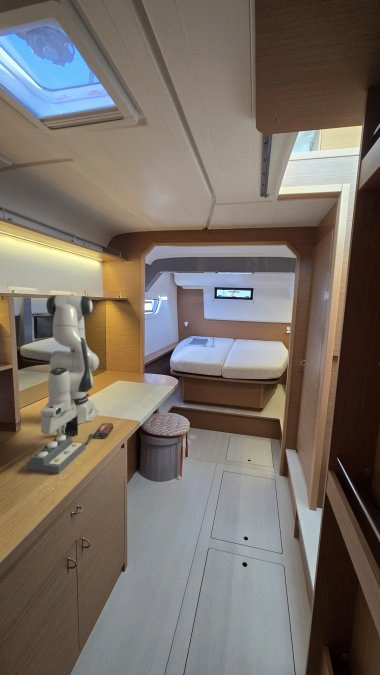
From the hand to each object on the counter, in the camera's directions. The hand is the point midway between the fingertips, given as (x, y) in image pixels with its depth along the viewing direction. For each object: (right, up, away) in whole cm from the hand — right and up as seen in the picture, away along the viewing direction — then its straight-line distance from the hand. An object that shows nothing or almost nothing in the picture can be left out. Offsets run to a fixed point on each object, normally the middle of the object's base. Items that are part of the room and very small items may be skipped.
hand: (60, 434), depth 121 cm
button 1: (-2, -6, -11) cm, 13 cm away
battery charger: (-2, -6, +16) cm, 17 cm away
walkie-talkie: (+12, -7, +16) cm, 21 cm away
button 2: (0, -3, 0) cm, 3 cm away
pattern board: (+1, -8, -5) cm, 10 cm away
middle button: (-1, -4, -5) cm, 7 cm away
